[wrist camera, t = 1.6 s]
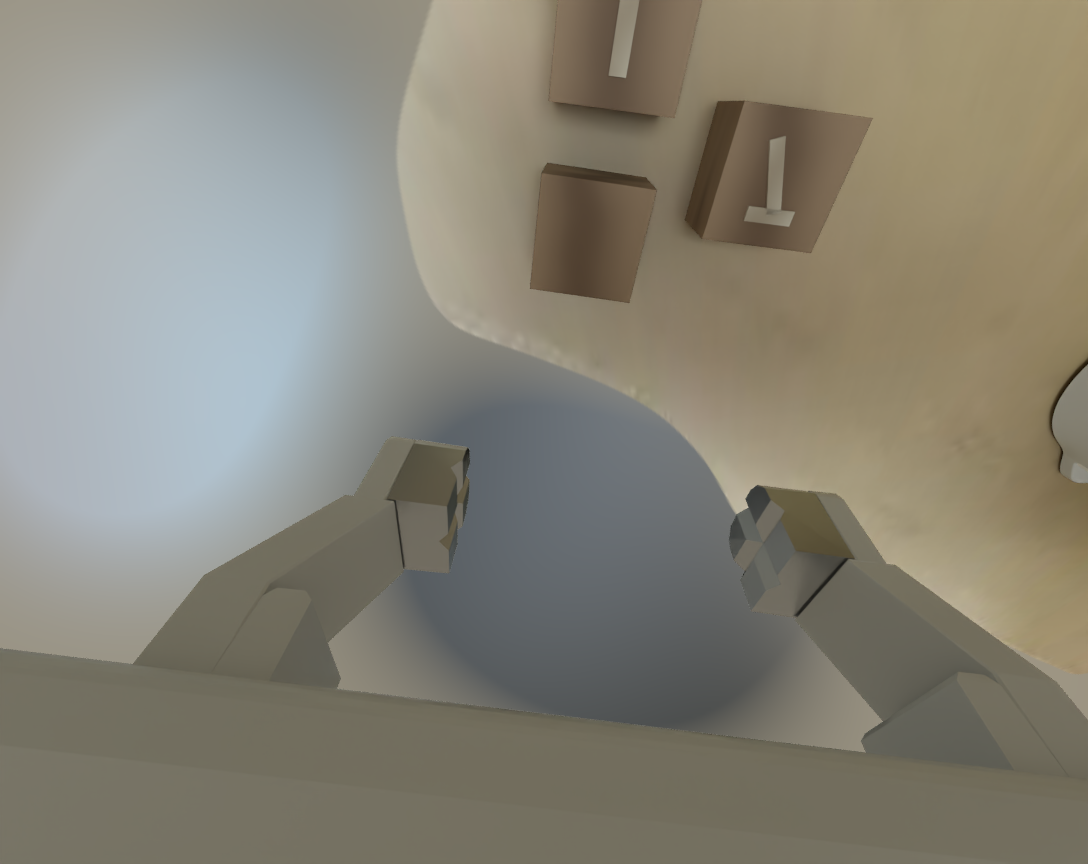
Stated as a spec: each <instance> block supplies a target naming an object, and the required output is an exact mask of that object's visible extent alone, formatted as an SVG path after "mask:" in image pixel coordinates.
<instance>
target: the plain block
mask: <svg viewBox="0 0 1088 864" xmlns="http://www.w3.org/2000/svg"><path fill="white" fill-rule="evenodd" d="M656 192H657V190H656V188H655V187H654V186H653V185H652V184H651V183H650V182H649V181H648V179H647V178H646V177H639V176H632V175H626V174H619V173H612V172H605V171H599V170H592V169H585V168H578V167H572V166H565V165H558V164H552V163H547V165H546V166H545V168H544V170H543V172H542V174H541V184H540V194H539V204H538V214H537V224H536V233H535V243H534V253H533V263H532V273H531V283H530V289H536V290H543V291H550V292H557V293H564V294H571V295H578V296H585V297H592V298H599V299H606V300H613V301H619V302H626V303H629V302H630V298H631V294H632V290H633V286H634V282H635V278H636V274H637V270H638V265H639V261H640V257H641V253H642V249H643V245H644V241H645V237H646V233H647V229H648V225H649V221H650V217H651V213H652V209H653V204H654V200H655V196H656Z"/></svg>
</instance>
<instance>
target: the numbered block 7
mask: <svg viewBox="0 0 1088 864" xmlns="http://www.w3.org/2000/svg"><path fill="white" fill-rule="evenodd" d="M872 119H873V118H868V117H861V116H853V115H846V114H839V113H831V112H824V111H816V110H809V109H801V108H794V107H786V106H779V105H772V104H764V103H757V102H749V101H718V102H717V106H716V110H715V113H714V117H713V120H712V124H711V128H710V131H709V135H708V138H707V142H706V146H705V149H704V153H703V156H702V160H701V164H700V167H699V171H698V174H697V178H696V182H695V185H694V189H693V192H692V196H691V200H690V203H689V207H688V210H687V214H686V218H685V221H686V222H687V223H688V224H689V225H690V226H691V227H692V228H693V229H694V230H695V231H696V233H697V234H698V235H699V236H700V237H701V238H702V239H707V240H714V241H722V242H730V243H738V244H745V245H753V246H761V247H768V248H776V249H784V250H791V251H799V252H807V253H811V252H812V250H813V248H814V245H815V243H816V241H817V239H818V237H819V235H820V232H821V230H822V228H823V226H824V224H825V221H826V219H827V217H828V215H829V213H830V211H831V208H832V206H833V204H834V202H835V200H836V198H837V195H838V193H839V191H840V189H841V187H842V184H843V182H844V180H845V178H846V176H847V174H848V171H849V169H850V167H851V165H852V163H853V161H854V158H855V156H856V154H857V152H858V150H859V147H860V145H861V143H862V141H863V139H864V137H865V134H866V132H867V130H868V128H869V126H870V123H871V121H872Z"/></svg>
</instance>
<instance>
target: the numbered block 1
mask: <svg viewBox="0 0 1088 864" xmlns="http://www.w3.org/2000/svg"><path fill="white" fill-rule="evenodd" d="M701 4H702V0H558V4H557V15H556V26H555V37H554V48H553V59H552V70H551V81H550V92H549V101H552V102H560V103H567V104H574V105H582V106H589V107H597V108H604V109H611V110H619V111H626V112H634V113H641V114H648V115H656V116H663V117H671V118H675V114H676V110H677V106H678V101H679V97H680V93H681V89H682V84H683V80H684V76H685V72H686V67H687V63H688V59H689V55H690V50H691V46H692V42H693V38H694V33H695V29H696V25H697V21H698V16H699V12H700V8H701Z"/></svg>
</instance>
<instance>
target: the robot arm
mask: <svg viewBox="0 0 1088 864" xmlns="http://www.w3.org/2000/svg"><path fill="white" fill-rule="evenodd" d="M1052 428H1053V433H1054V436H1055V438H1056V440H1057V441H1058V443H1059V444H1060V446H1061V447H1062V450H1063V457H1062V460H1061V465H1060V472H1061V474H1062V475H1063V476H1065V477H1067V478H1068V479H1070V480H1072V481H1073V482H1076V483H1088V365H1087V366H1086V367H1085V368H1084V369H1083V370H1082V371H1081V372H1080V373H1079V374H1078V375H1077V376H1076V377H1075V378H1074V379H1073V381H1072V382H1071V383H1070V384H1069V386H1068V387H1067V388H1066V390H1065V391H1064V393H1063V394H1062V396H1061V398H1060V400H1059V402H1058V404H1057V406H1056V408H1055V411H1054V415H1053V420H1052ZM469 452H470V450H469V448H468V447H462V446H455V445H448V444H441V443H435V442H429V441H422V440H413V439H406V438H400V437H393V436H392V437H390V438H389V439H387V440H386V441H385V443H384V445H383V446H382V448H381V450H380V451H379V453H378V455H377V457H376V458H375V460H374V462H373V463H372V465H371V467H370V469H369V470H368V472H367V474H366V476H365V477H364V479H363V481H362V482H361V484H360V486H359V488H358V489H357V491H356V493H355V494H354V496H349V495H344V496H343V497H341V498H339V499H338V500H336V501H334V502H332V503H331V504H329V505H327V506H325V507H323V508H322V509H320V510H318V511H316V512H315V513H313V514H311V515H309V516H308V517H306V518H304V519H302V520H300V521H299V522H297V523H295V524H293V525H292V526H290V527H288V528H286V529H285V530H283V531H281V532H279V533H278V534H276V535H274V536H272V537H271V538H269V539H267V540H265V541H263V542H262V543H260V544H258V545H257V546H255V547H253V548H251V549H249V550H248V551H246V552H244V553H243V554H241V555H239V556H237V557H235V558H234V559H232V560H230V561H229V562H227V563H225V564H223V565H221V566H219V567H218V568H216V569H214V570H212V571H211V572H209V573H207V574H205V575H204V576H203V577H202V578H201V580H200V581H199V582H198V584H197V585H196V586H195V587H194V589H193V590H192V591H191V592H190V594H189V595H188V596H187V597H186V598H185V600H184V601H183V602H182V603H181V605H180V606H179V607H178V608H177V610H176V611H175V612H174V613H173V615H172V616H171V617H170V618H169V620H168V621H167V622H166V623H165V625H164V626H163V627H162V628H161V630H160V631H159V632H158V633H157V635H156V636H155V637H154V638H153V640H152V641H151V642H150V643H149V644H148V646H147V647H146V648H145V649H144V651H143V652H142V653H141V655H140V656H139V657H138V658H137V659H136V661H135V662H134V663H133V664H127V663H119V662H110V661H102V660H93V659H86V658H77V657H68V656H61V655H52V654H44V653H36V652H27V651H18V650H11V649H2V648H0V864H1088V720H1087V719H1086V717H1085V716H1084V715H1083V714H1082V712H1081V711H1080V710H1079V709H1078V708H1077V706H1076V705H1075V704H1074V703H1073V702H1072V700H1071V699H1070V698H1069V697H1068V695H1067V694H1066V693H1065V692H1064V691H1063V689H1062V688H1061V687H1060V686H1059V685H1058V683H1057V682H1055V681H1054V680H1053V679H1052V678H1050V677H1049V676H1047V675H1046V674H1045V673H1043V672H1042V671H1041V670H1039V669H1038V668H1036V667H1035V666H1034V665H1032V664H1031V663H1029V662H1028V661H1027V660H1025V659H1024V658H1023V657H1021V656H1020V655H1018V654H1017V653H1016V652H1014V651H1013V650H1012V649H1010V648H1009V647H1007V646H1006V645H1005V644H1003V643H1002V642H1001V641H999V640H998V639H996V638H995V637H994V636H992V635H991V634H990V633H988V632H987V631H985V630H984V629H983V628H981V627H980V626H978V625H977V624H976V623H974V622H973V621H972V620H970V619H969V618H967V617H966V616H965V615H963V614H962V613H961V612H959V611H958V610H956V609H955V608H954V607H952V606H951V605H950V604H948V603H947V602H945V601H944V600H943V599H941V598H940V597H939V596H937V595H936V594H934V593H933V592H932V591H930V590H929V589H927V588H926V587H925V586H923V585H922V584H921V583H919V582H918V581H916V580H915V579H914V578H912V577H911V576H910V575H908V574H907V573H905V572H904V571H903V570H901V569H900V568H899V567H897V566H896V565H891V564H886V562H885V561H884V559H883V558H882V556H881V555H880V553H879V552H878V550H877V549H876V547H875V546H874V544H873V543H872V541H871V540H870V538H869V537H868V535H867V534H866V532H865V531H864V529H863V528H862V527H861V525H860V524H859V522H858V521H857V519H856V518H855V516H854V515H853V513H852V512H851V510H850V509H849V507H848V506H847V504H846V503H845V501H844V500H843V499H842V498H841V497H839V496H838V495H836V494H832V493H823V492H814V491H808V492H807V491H801V490H793V489H785V488H776V487H768V486H760V485H757V486H755V487H754V488H753V489H751V490H750V492H749V494H748V495H747V497H746V502H747V504H748V507H749V508H747V509H745V510H744V511H742V512H740V513H738V514H737V515H736V517H735V519H734V521H733V523H732V525H731V528H730V536H729V543H730V550H731V553H732V557H733V560H734V561H735V562H736V563H737V564H738V565H739V566H740V567H741V568H742V569H743V570H744V574H743V576H742V578H741V584H742V586H743V589H744V592H745V595H746V598H747V601H748V604H749V607H750V609H751V611H754V612H760V613H767V614H773V615H780V616H786V617H793V618H796V619H795V621H796V622H797V623H798V624H799V625H800V626H801V628H802V629H803V630H804V631H805V632H806V633H807V634H808V635H809V636H810V638H811V639H812V640H813V641H814V642H815V643H816V645H817V646H818V647H819V648H820V649H821V651H822V652H823V653H824V654H825V655H826V656H827V657H828V659H829V660H830V661H831V662H832V663H833V664H834V665H835V667H836V668H837V669H838V670H839V671H840V672H841V673H842V675H843V676H844V677H845V678H846V679H847V680H848V681H849V683H850V684H851V685H852V686H853V687H854V688H855V689H856V691H857V692H858V693H859V694H860V695H861V696H862V698H863V699H864V700H865V701H866V702H867V703H868V704H869V706H870V707H871V708H872V709H873V710H874V711H875V712H876V714H877V715H878V716H879V717H880V718H881V719H882V721H883V722H882V723H880V724H879V725H877V726H876V727H874V728H873V729H871V730H870V731H868V732H867V733H865V735H864V737H863V738H862V740H861V742H862V744H863V747H864V749H865V751H866V753H864V752H857V751H848V750H841V749H832V748H824V747H816V746H807V745H799V744H791V743H782V742H774V741H766V740H758V739H750V738H741V737H733V736H725V735H716V734H708V733H700V732H691V731H683V730H675V729H667V728H659V727H650V726H642V725H634V724H625V723H617V722H609V721H601V720H592V719H584V718H576V717H567V716H559V715H551V714H542V713H534V712H526V711H517V710H509V709H501V708H493V707H485V706H476V705H468V704H459V703H451V702H443V701H434V700H426V699H417V698H410V697H401V696H392V695H385V694H377V693H368V692H360V691H351V690H342V689H337V687H338V684H339V682H340V679H341V678H340V675H339V672H338V669H337V667H336V664H335V661H334V659H333V656H332V654H331V651H330V648H329V646H328V642H329V641H330V640H331V639H332V638H333V637H334V636H335V635H336V634H337V633H338V632H339V631H341V630H342V629H343V628H344V627H345V626H346V625H347V624H348V623H349V622H350V621H351V620H352V619H353V618H355V617H356V616H357V615H358V614H359V613H360V612H361V611H362V610H363V609H364V608H365V607H366V606H367V605H368V604H370V603H371V601H373V600H374V599H375V598H376V597H377V596H378V595H379V594H380V593H381V592H382V591H383V590H385V589H386V588H387V587H388V586H389V585H390V584H391V583H392V582H393V581H394V580H395V579H396V578H397V577H398V576H399V575H401V573H403V571H404V570H403V569H410V570H420V571H421V570H422V571H431V572H441V573H449V572H450V569H451V565H452V562H453V558H454V555H455V551H456V547H457V544H458V543H457V541H458V540H457V539H458V535H457V534H458V529H459V528H461V527H462V526H463V523H464V519H465V514H466V510H467V504H468V498H469V483H470V482H469V479H468V478H467V476H466V474H467V471H468V468H469V464H470V453H469Z"/></svg>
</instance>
